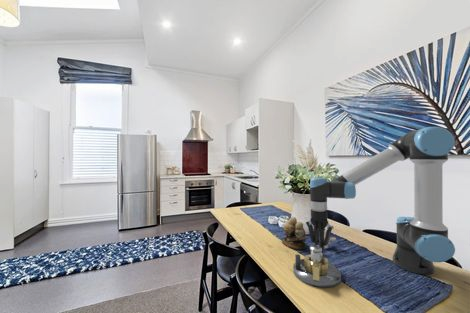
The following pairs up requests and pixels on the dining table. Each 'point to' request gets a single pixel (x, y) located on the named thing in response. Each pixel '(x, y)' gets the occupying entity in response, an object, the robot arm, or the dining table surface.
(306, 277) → the spigot plate
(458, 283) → the dining table surface
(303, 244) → the owl figurine
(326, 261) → the beige segmented block
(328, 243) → the pipe connector
